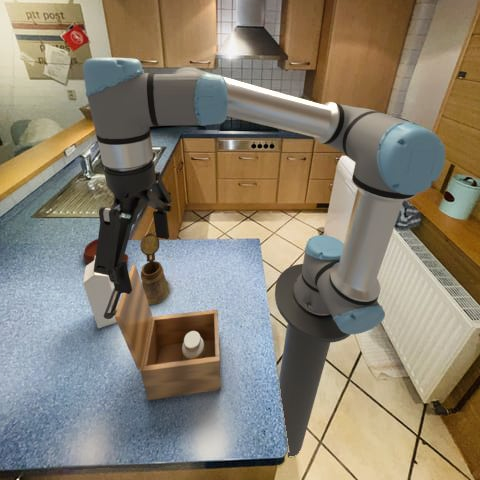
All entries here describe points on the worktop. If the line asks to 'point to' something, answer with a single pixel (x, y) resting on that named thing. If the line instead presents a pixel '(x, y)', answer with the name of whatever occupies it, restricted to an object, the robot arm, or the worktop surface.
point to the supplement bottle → (193, 346)
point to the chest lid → (132, 317)
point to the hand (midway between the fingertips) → (145, 260)
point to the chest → (181, 356)
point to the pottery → (91, 252)
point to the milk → (98, 294)
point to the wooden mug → (153, 272)
